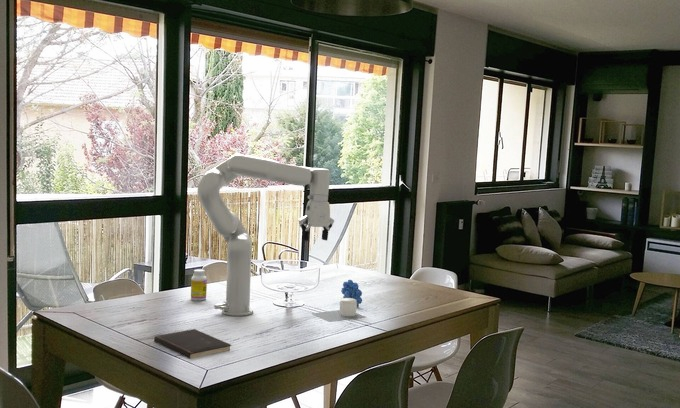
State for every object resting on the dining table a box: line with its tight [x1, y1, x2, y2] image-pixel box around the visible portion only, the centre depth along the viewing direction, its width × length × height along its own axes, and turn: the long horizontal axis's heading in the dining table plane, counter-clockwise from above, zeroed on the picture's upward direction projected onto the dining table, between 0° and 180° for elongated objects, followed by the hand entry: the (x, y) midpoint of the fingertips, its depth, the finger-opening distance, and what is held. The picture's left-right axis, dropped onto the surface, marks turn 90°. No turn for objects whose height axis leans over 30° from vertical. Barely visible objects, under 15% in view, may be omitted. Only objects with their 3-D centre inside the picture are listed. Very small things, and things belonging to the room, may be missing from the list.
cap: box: [339, 297, 358, 316], centre depth 277 cm, size 6×6×6 cm
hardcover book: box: [153, 328, 232, 359], centre depth 231 cm, size 16×23×2 cm
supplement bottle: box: [190, 268, 208, 302], centre depth 296 cm, size 7×7×13 cm
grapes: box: [340, 279, 363, 308], centre depth 294 cm, size 12×7×12 cm, turn 47°
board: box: [310, 309, 367, 323], centre depth 274 cm, size 18×14×6 cm
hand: (315, 240), depth 278 cm, fingers open, 9 cm apart
